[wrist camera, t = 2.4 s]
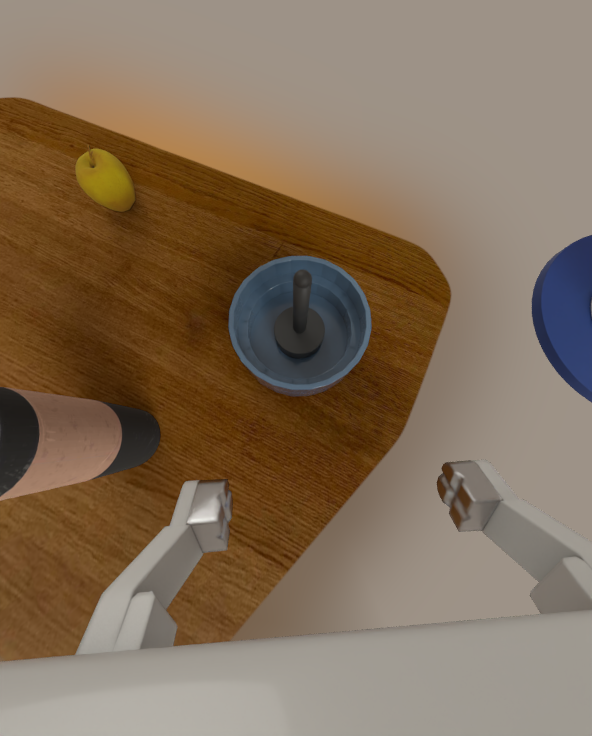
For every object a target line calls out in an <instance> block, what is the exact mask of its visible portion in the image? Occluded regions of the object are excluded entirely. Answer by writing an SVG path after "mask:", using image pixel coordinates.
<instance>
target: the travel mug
mask: <svg viewBox="0 0 592 736" xmlns="http://www.w3.org/2000/svg"><path fill="white" fill-rule="evenodd" d="M159 441H160V429H159V425H158V423H157V421H156V420H155V418H154V417H153V416H152V415H151V414H149V413H148V412H145V411H143V410H140V409H135V408H131V407H126V406H121V405H116V404H111V403H106V402H101V401H96V400H90V399H83V398H75V397H68V396H61V395H54V394H47V393H40V392H33V391H26V390H19V389H12V388H5V387H0V500H5V499H9V498H14V497H18V496H22V495H27V494H31V493H36V492H40V491H44V490H49V489H53V488H58V487H62V486H66V485H71V484H75V483H80V482H84V481H88V480H91V479H95V478H98V477H102V476H105V475H109V474H112V473H116V472H119V471H123V470H126V469H130V468H133V467H136V466H138V465H141V464H143V463H144V462H146V461H147V460H148V459H149V458H150V457H151V456H152V455H153V454H154V453H155V451H156V449H157V447H158V445H159Z"/></svg>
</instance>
